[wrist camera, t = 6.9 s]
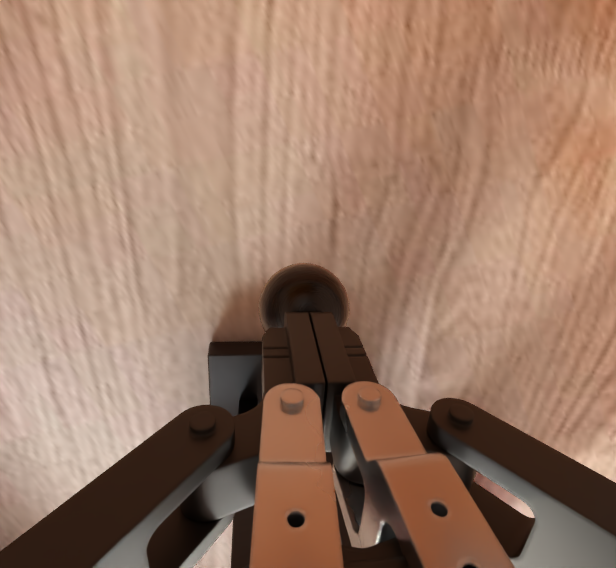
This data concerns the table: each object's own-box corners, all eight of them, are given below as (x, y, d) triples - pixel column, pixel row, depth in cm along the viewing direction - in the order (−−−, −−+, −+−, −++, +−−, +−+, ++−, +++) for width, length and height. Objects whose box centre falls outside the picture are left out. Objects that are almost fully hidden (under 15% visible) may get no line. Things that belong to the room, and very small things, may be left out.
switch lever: (258, 262, 16) (259, 262, 13) (339, 263, 16) (360, 263, 13) (256, 611, 17) (256, 692, 13) (334, 603, 17) (352, 680, 14)
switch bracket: (209, 341, 21) (167, 590, 11) (359, 339, 23) (453, 564, 12) (215, 477, 26) (189, 750, 15) (341, 470, 27) (399, 720, 16)
